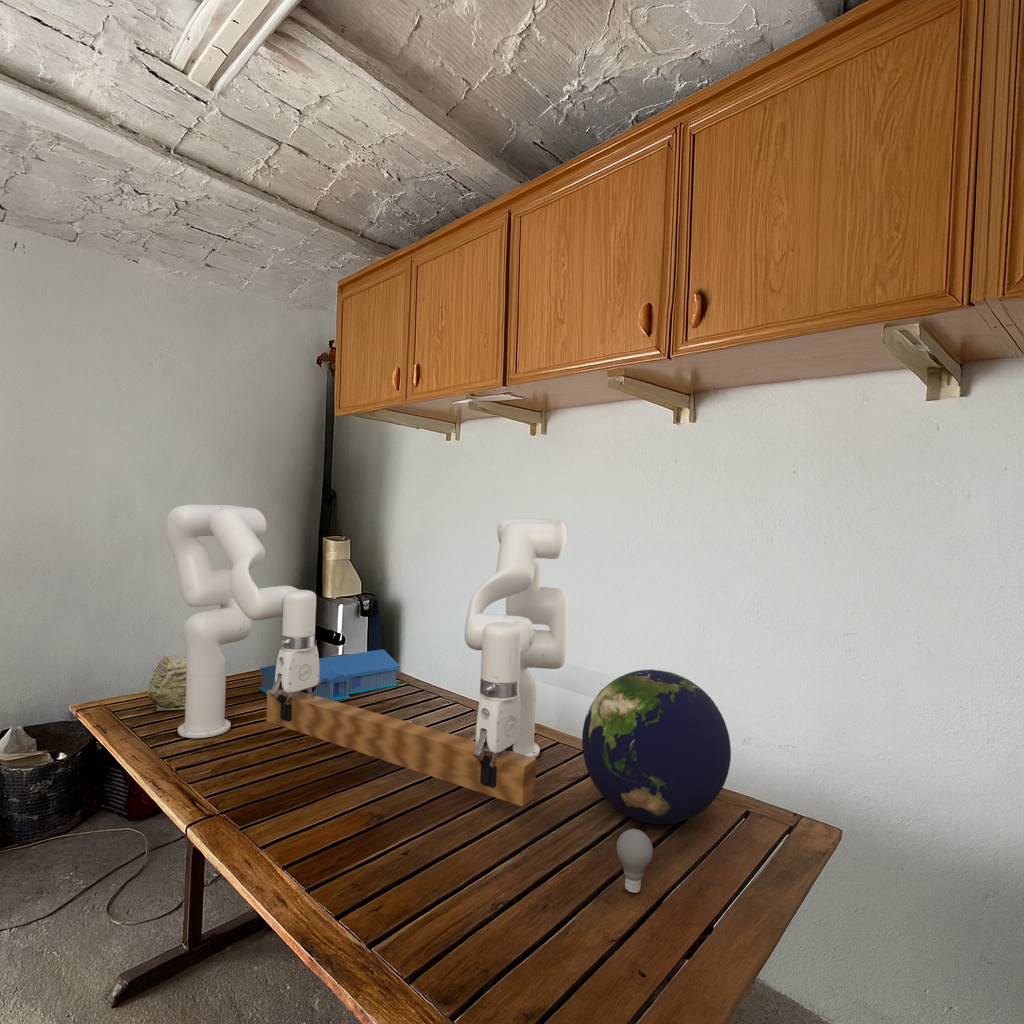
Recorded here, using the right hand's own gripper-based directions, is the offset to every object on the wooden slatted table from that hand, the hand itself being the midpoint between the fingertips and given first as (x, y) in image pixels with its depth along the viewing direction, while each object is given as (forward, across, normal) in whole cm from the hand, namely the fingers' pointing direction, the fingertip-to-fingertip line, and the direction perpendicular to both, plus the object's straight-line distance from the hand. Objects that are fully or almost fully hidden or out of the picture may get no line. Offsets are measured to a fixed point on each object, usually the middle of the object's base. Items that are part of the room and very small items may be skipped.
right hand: (495, 779), depth 123 cm
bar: (+2, 0, +29) cm, 29 cm away
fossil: (+11, +5, +111) cm, 112 cm away
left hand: (0, 0, +58) cm, 58 cm away
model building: (+11, +43, +91) cm, 102 cm away
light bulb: (+10, -3, -30) cm, 31 cm away
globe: (+10, +24, -24) cm, 35 cm away
